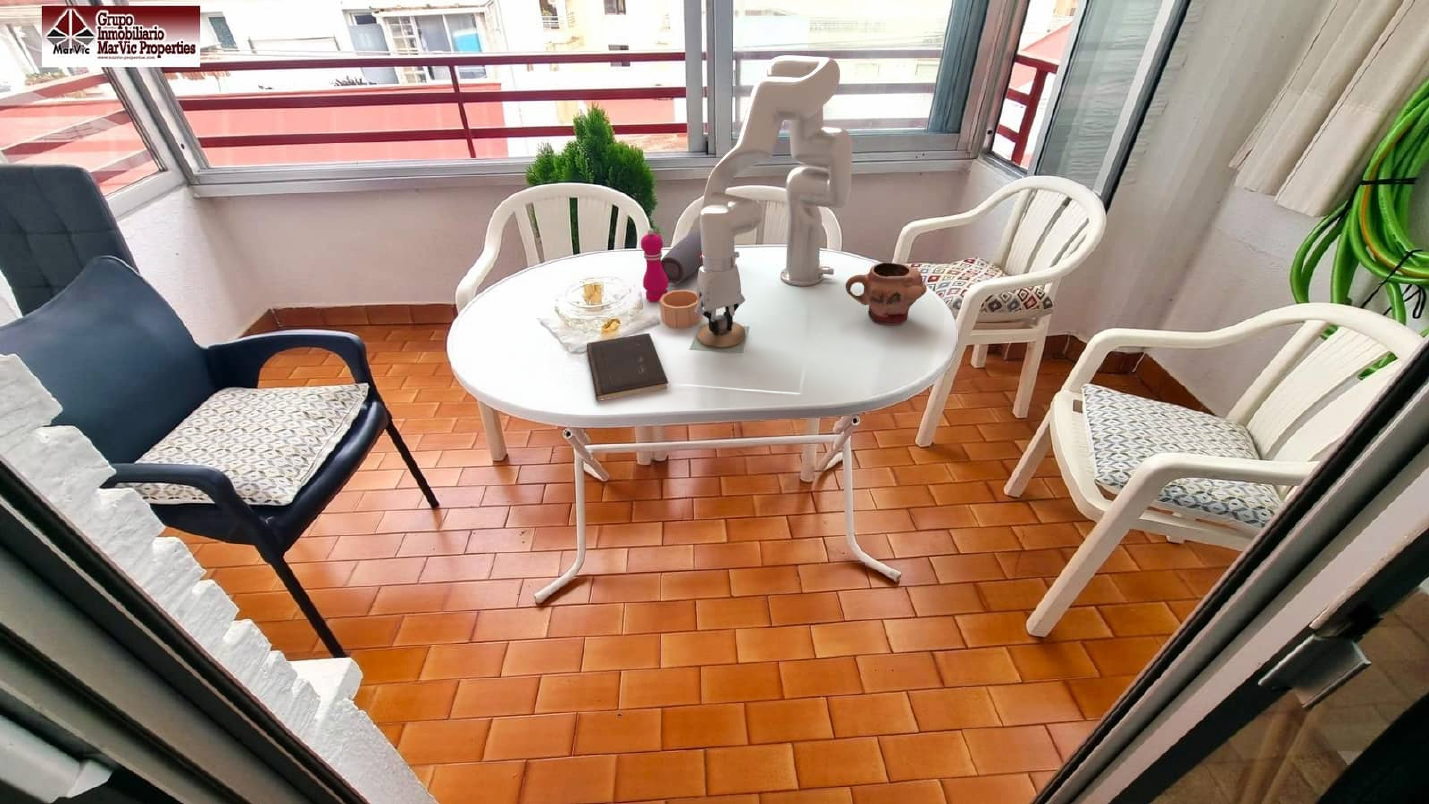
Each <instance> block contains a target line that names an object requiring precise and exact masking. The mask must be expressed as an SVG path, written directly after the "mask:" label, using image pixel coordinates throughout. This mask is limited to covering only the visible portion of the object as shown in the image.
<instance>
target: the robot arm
mask: <svg viewBox="0 0 1429 804" xmlns="http://www.w3.org/2000/svg"><path fill="white" fill-rule="evenodd" d="M766 71H767V72H766V76H765V77H762V78H760V79H758V80H757V81H756V82H755V83H754V85H753V87H752V90H751V93H750V97H749V101H748V104H747V108H746V110H745V114H744V117H743V121H742V124H741V128H740V131H739V134H738V135H739V136H738V139H737V142H736V144H735V146H734V147H733V148H732V149H731V150H730V151H729V152H727V153H726V154H725V155H724V156H723V157H722V158H721V160H719V162H718V163H717V164H716V165H715V166H714V168H713V169H712V171H711V172H710V174H709V176H708V179H707V182H706V186H705V189H704V192H703V196H702V199H701V201H702V202H701V206H700V207H701V208H700V209H701V210H700V212H699V213H700V214H699V227H700V230H701V247H702V262H701V265H702V266H700V267H699V268H698V271H697V272H698V274H697V280H696V281H697V283H696V293H697V302H698V303H697V306H696V308H695V313H696V314H698V315H702V317H705V318H707V320H708V323H709V330H710V331H711V332H713V333H714V334H715V335H718V321H717V320H716V316H717V310H719V309H722V308H724V309H725V311H724V312H723V314H722V315H725V316H726V317H727V330H728V331H732V325H733V322H734V321H733V320H734V318H733V317H734V316H735V313H736V311H737V310H738V308H739V306H741V305H742V304H743V303H744V302H746V298H745V297H744V295H743V294H742V285H741V284H742V283H741V277H740V272H739V267H738V264H737V263H736V259H738V258H740V252H739V251H735V237H736V236H740V235H743V234H746V233H750V232H752V231H754V230H755V229H756V228H757V227H758V226H759V225H760V223H761V220H762V218H763V209H762V206H761V204H760V203H759V201H757V200H755V199H753V198H749V197H745V196H740V195H734V194H729V193H726V191H727V189H728V186H729V185H730V183H731V181H732V180H733V179H734V178H735V177H736V176H737V175H739V174H740V173H742V172H743V171H744V170H746V169H749V168H753V167H754V166H757V165H760V164H761V163H762V164H763V163H764V162H767V161H769V160H770V159H771V158H772V157H773V155H774V152H775V148H776V144H777V142H778V141H777V140H778V138H779V134H780V131H781V127H782V125H783V122H784V121H788V123H789V144H790V145H789V148H790V155H791V158H792V159H793V161H794V162H795V163H797V164H801V166H800V165H799V166H796V167H794V168H793V169H791V170H790V172H789V173H788V174H787V177H786V181H785V189H786V191H785V193H786V197H787V207H788V208H787V210H788V213H787V214H788V216H787V217H788V219H787V220H788V221H787V235H786V236H787V239H786V241H787V242H786V259H785V260H786V263H785V268H784V269H782V270H781V272H780V279H781V280H782V281H783V282H784V283H786V284H788V285H792V286H797V287H798V286H801V287H803V286H804V287H806V286H814V285H816V284H818V283H820V282H821V281H822V280H823V278H824V275H829V276H833V275H834V272H835V268H834V267H831V265H823V264H821V259H820V253H821V252H820V251H821V239H822V229H823V218H822V213H821V210H820V207H821V208H825V209H834V210H835V209H842V208H843V207H844V206H845V205H847V203H848V200H849V198H850V194H851V189H852V173H853V172H852V170H853V169H852V168H853V141H852V137H851V134H850V133H849V131H847V129H845V128H843V127H837V126H829V125H828V126H827V125H826V124H825V122H824V106H825V105H826V104H827V103H828V102H829V101H830V100H831V99H832V98H833V96H834V95H835V93H836V92H837V89H838V87H839V84H840V81H841V69H840V67H839V64H838V63H837V61H836V60H835V59H833V58H831V57H827V56H826V57H825V56H806V55H792V54H791V55H788V54H787V55H779V56H776V57H774V58H772V59H771V60H770V61H769V63H768V64H767V69H766Z"/></svg>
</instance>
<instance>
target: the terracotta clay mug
mask: <svg viewBox="0 0 1429 804" xmlns="http://www.w3.org/2000/svg"><path fill="white" fill-rule="evenodd" d="M857 283H859V284H861V285H863V292H862V294H859V295H856V294H854V293H853V292H852V291H851V288H852V286H853V285H854V284H857ZM844 286H845V291H846V293H847V295H849V296H851V298H853V299H854V300H855V301H857V302H858V303H860V304H862V305H863V306H868V311H867V312H868V313H867V314H868V316H869V318H870V320H871V321H873V322H874V323H877V324H881V325H885V326H886V325H890V326H891V325H900V324H903V323H905V322H906V321H907V319H908V316H909V310H910V308H911V306H912V305H914V303H916V301H917V300H918V299H920V298H921V297H922V296H924V295H925V294H926V293H927V290H928V289H927V288H928V287H927V285H926V283H924V281H923V276H922V274H921V272H920V271H919V270H918V269H917V268H914V267H911V266H910V265H907V264H903V263H895V262H879V263H875V264H873V266H871V267H870V269H869V273H868V272H867V274H866V273H865V274H856V275H853V276H851V277H849V278H848V279H847V281H846V283H845V285H844Z"/></svg>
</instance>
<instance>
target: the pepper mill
mask: <svg viewBox="0 0 1429 804" xmlns="http://www.w3.org/2000/svg"><path fill="white" fill-rule="evenodd" d="M646 233H647V234H645V235H644V236H642V238H641V239H640V248H641V249H642V251H643V255H644V256H643V258H644V259H645V261H646V270H645V273H644V275H643V280H642V287H643V289H645V290H646V291H645V297H646V300H647V301H649V302H651V303H652V302H653V303H658V302H660V299H661V297H662V295H664V294H666V293H668V292H669V291H668V287H669V285H670V283H669V282H668V278H667V275H666V274H665V272H664V270H663V268H662V265H661V260H662V258H663V251H662V249H663V247H664V242H663V239H662V237H661V236H660V235H659V234H657V233H655V231H654V229H653V228H648V229H647V231H646Z"/></svg>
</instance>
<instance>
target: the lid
mask: <svg viewBox="0 0 1429 804" xmlns="http://www.w3.org/2000/svg"><path fill="white" fill-rule="evenodd" d="M716 320H717V321H718V335H715V334H714V333H713V332H711V331H710V330H709V322H706V323H703V324H704V325H703V326H701V327H700V328H699V329H698V328H697V330H698V332H697V331H696V332H697V337H698V340H699V341H700V342H701V343H703V344H704V345H707V346H710V347H716V348H724V347H730V346H734V345H736V344H738V343H740V342H741V341H742V340H743V339H744V338H745V329H744V328H743V326H744V325H741V324H740V323H738V322H735V321H733V325H732V331H728V330H727V317H726V316H725V315H723V314H718V315H717V314H716Z"/></svg>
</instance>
